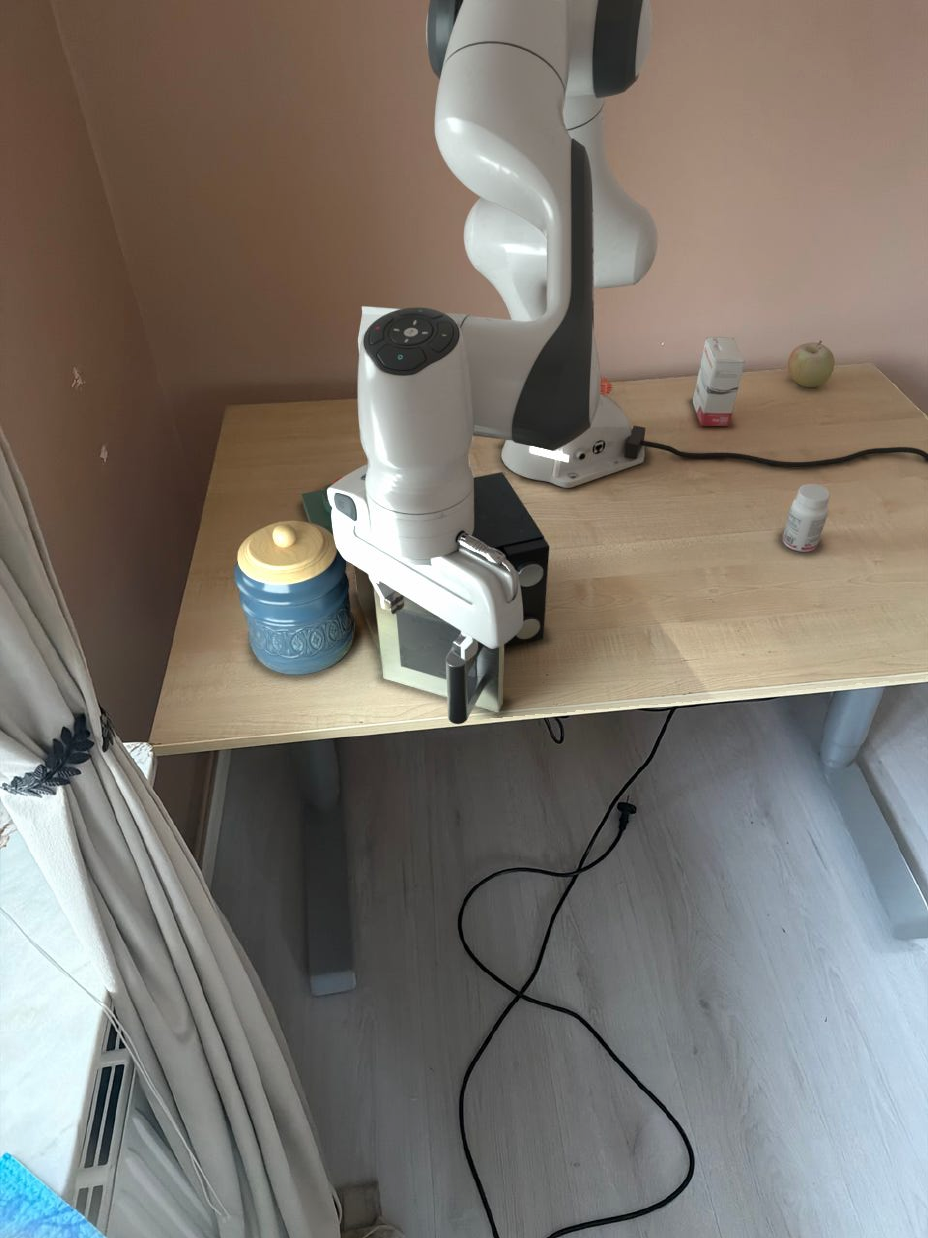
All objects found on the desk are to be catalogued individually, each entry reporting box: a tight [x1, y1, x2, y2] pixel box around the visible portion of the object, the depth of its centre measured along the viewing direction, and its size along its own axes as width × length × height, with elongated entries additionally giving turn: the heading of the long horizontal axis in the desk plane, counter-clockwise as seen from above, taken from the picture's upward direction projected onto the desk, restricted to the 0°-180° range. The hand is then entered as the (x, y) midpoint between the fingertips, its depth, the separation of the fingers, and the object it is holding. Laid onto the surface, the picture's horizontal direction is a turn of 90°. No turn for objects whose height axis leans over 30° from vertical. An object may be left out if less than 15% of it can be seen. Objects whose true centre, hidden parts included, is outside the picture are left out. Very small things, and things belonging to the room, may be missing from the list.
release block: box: [301, 482, 334, 537], centre depth 130 cm, size 12×9×4 cm
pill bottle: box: [782, 483, 831, 553], centre depth 122 cm, size 5×5×8 cm
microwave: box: [353, 471, 550, 662], centre depth 109 cm, size 16×20×15 cm
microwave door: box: [373, 586, 505, 725], centre depth 98 cm, size 7×15×15 cm, turn 68°
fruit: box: [787, 340, 835, 388], centre depth 155 cm, size 8×7×8 cm
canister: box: [233, 520, 356, 676], centre depth 106 cm, size 13×13×18 cm
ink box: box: [692, 336, 746, 427], centre depth 147 cm, size 9×5×12 cm, turn 179°
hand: (428, 630), depth 84 cm, fingers open, 8 cm apart
